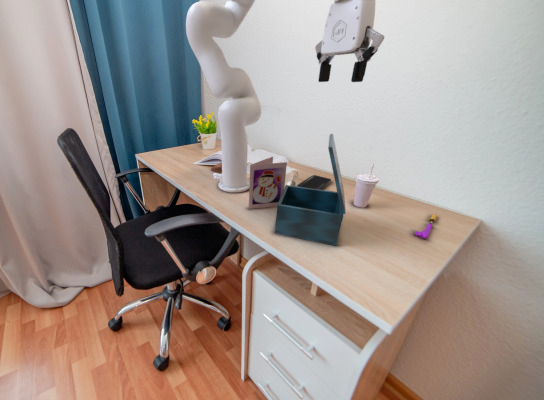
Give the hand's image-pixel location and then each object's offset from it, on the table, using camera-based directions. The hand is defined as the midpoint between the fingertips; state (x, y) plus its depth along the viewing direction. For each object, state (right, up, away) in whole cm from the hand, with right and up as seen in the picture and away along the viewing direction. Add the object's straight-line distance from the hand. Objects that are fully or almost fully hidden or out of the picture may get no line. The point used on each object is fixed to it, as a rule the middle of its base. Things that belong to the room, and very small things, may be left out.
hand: (339, 81), depth 59 cm
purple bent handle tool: (+28, -37, +9) cm, 47 cm away
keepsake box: (-5, -36, +10) cm, 38 cm away
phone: (+7, -23, +34) cm, 42 cm away
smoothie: (+16, -31, +20) cm, 40 cm away
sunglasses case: (-26, -13, +55) cm, 62 cm away
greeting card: (-15, -30, +22) cm, 41 cm away
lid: (-1, -22, 0) cm, 22 cm away
